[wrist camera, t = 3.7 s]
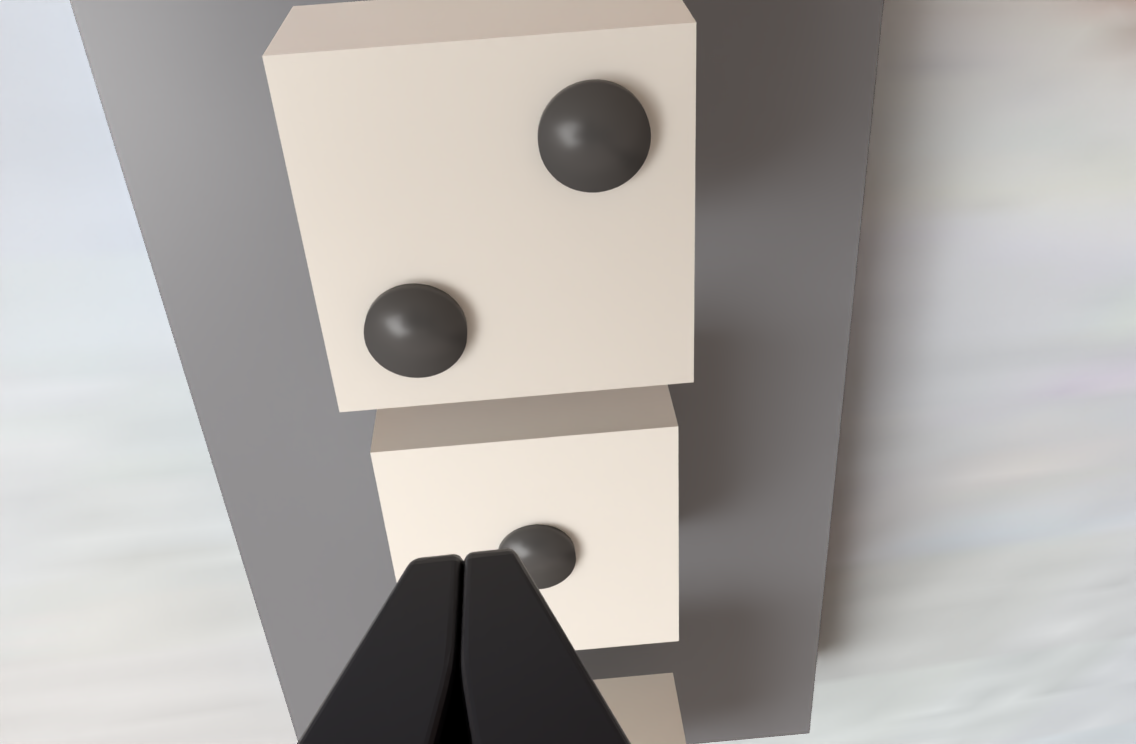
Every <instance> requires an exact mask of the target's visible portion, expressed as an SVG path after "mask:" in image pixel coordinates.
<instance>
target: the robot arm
mask: <svg viewBox="0 0 1136 744" xmlns="http://www.w3.org/2000/svg"><path fill="white" fill-rule="evenodd" d="M297 744H631V743H630V741H629V739H628V738H627V736H626V734H625V733H624V731H623V729H622V728H621V726H620V724H619V723H618V721H617V719H616V718H615V716H614V714H613V713H612V711H611V709H610V708H609V706H608V704H607V703H606V701H605V699H604V698H603V696H602V694H601V693H600V691H599V689H598V688H597V686H596V684H595V683H594V681H593V679H592V678H591V676H590V674H589V673H588V671H587V669H586V667H585V666H584V664H583V662H582V661H581V659H580V657H579V656H578V654H577V652H576V651H575V649H574V647H573V646H572V644H571V642H570V641H569V639H568V637H567V636H566V634H565V632H564V631H563V629H562V627H561V626H560V624H559V622H558V621H557V619H556V617H555V616H554V614H553V612H552V611H551V609H550V607H549V606H548V604H547V602H546V601H545V599H544V597H543V595H542V594H541V592H540V590H539V589H538V587H537V585H536V584H535V582H534V580H533V579H532V577H531V575H530V574H529V572H528V570H527V569H526V567H525V565H524V564H523V562H522V560H521V559H520V557H519V555H518V554H517V553H516V552H515V551H514V550H512V549H509V548H505V549H496V550H486V551H477V552H471V553H469V554H468V555H466V557H465V559H464V560H463V559H462V558H461V557H460V556H459V555H457V554H449V555H440V556H431V557H421V558H416V559H414V560H413V561H411V562H410V563H409V564H408V566H407V567H406V569H405V571H404V572H403V574H402V575H401V577H400V579H399V580H398V582H397V583H396V585H395V587H394V588H393V590H392V591H391V593H390V595H389V596H388V598H387V600H386V601H385V603H384V604H383V606H382V608H381V609H380V611H379V612H378V614H377V616H376V617H375V619H374V620H373V622H372V624H371V625H370V627H369V628H368V630H367V632H366V633H365V635H364V636H363V638H362V640H361V641H360V643H359V645H358V646H357V648H356V649H355V651H354V653H353V654H352V656H351V657H350V659H349V661H348V662H347V664H346V665H345V667H344V669H343V670H342V672H341V673H340V675H339V677H338V678H337V680H336V681H335V683H334V685H333V686H332V688H331V690H330V691H329V693H328V694H327V696H326V698H325V699H324V701H323V702H322V704H321V706H320V707H319V709H318V710H317V712H316V714H315V715H314V717H313V718H312V720H311V722H310V723H309V725H308V727H307V728H306V730H305V731H304V733H303V735H302V736H301V738H300V739H299V741H298V743H297Z"/></svg>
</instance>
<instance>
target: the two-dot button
mask: <svg viewBox="0 0 1136 744" xmlns="http://www.w3.org/2000/svg"><path fill="white" fill-rule="evenodd" d="M262 58H263V62H264V67H265V72H266V76H267V81H268V85H269V90H270V95H271V99H272V104H273V108H274V113H275V118H276V122H277V127H278V131H279V136H280V141H281V145H282V150H283V154H284V159H285V164H286V168H287V173H288V177H289V182H290V187H291V191H292V196H293V200H294V205H295V210H296V214H297V219H298V223H299V228H300V233H301V237H302V242H303V246H304V251H305V256H306V260H307V265H308V269H309V274H310V279H311V283H312V288H313V292H314V297H315V302H316V306H317V311H318V315H319V320H320V325H321V329H322V334H323V338H324V343H325V348H326V352H327V357H328V361H329V366H330V371H331V375H332V380H333V384H334V389H335V394H336V398H337V403H338V407H339V412H350V411H361V410H373V409H385V408H397V407H409V406H420V405H432V404H444V403H456V402H467V401H479V400H491V399H503V398H515V397H526V396H538V395H550V394H562V393H573V392H585V391H597V390H609V389H621V388H632V387H644V386H656V385H668V384H679V383H691V382H694V274H695V139H696V21H695V19H694V18H693V16H692V15H691V13H690V11H689V10H688V8H687V7H686V5H685V4H684V2H683V0H368V1H355V2H342V3H328V4H315V5H302V6H293V7H292V9H291V10H290V12H289V13H288V15H287V17H286V18H285V20H284V22H283V23H282V25H281V26H280V28H279V30H278V31H277V33H276V34H275V36H274V38H273V39H272V41H271V43H270V44H269V46H268V47H267V49H266V51H265V52H264V54H263V55H262Z"/></svg>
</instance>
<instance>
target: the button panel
mask: <svg viewBox="0 0 1136 744" xmlns="http://www.w3.org/2000/svg"><path fill="white" fill-rule="evenodd" d="M355 1H368V0H70V3H71V6H72V9H73V13H74V16H75V19H76V22H77V26H78V29H79V32H80V35H81V39H82V42H83V45H84V48H85V52H86V55H87V58H88V61H89V65H90V68H91V71H92V74H93V77H94V81H95V84H96V87H97V90H98V94H99V97H100V100H101V103H102V107H103V110H104V113H105V116H106V120H107V123H108V126H109V129H110V133H111V136H112V139H113V142H114V146H115V149H116V152H117V155H118V159H119V162H120V165H121V168H122V172H123V175H124V178H125V181H126V185H127V188H128V191H129V194H130V198H131V201H132V204H133V207H134V211H135V214H136V217H137V220H138V224H139V227H140V230H141V233H142V237H143V240H144V243H145V246H146V249H147V253H148V256H149V259H150V262H151V266H152V269H153V272H154V275H155V279H156V282H157V285H158V288H159V292H160V295H161V298H162V301H163V305H164V308H165V311H166V314H167V318H168V321H169V324H170V327H171V331H172V334H173V337H174V340H175V344H176V347H177V350H178V353H179V357H180V360H181V363H182V366H183V370H184V373H185V376H186V379H187V383H188V386H189V389H190V392H191V396H192V399H193V402H194V405H195V409H196V412H197V415H198V418H199V421H200V425H201V428H202V431H203V434H204V438H205V441H206V444H207V447H208V451H209V454H210V457H211V460H212V464H213V467H214V470H215V473H216V477H217V480H218V483H219V486H220V490H221V493H222V496H223V499H224V503H225V506H226V509H227V512H228V516H229V519H230V522H231V525H232V529H233V532H234V535H235V538H236V542H237V545H238V548H239V551H240V555H241V558H242V561H243V564H244V568H245V571H246V574H247V577H248V581H249V584H250V587H251V590H252V593H253V597H254V600H255V603H256V606H257V610H258V613H259V616H260V619H261V623H262V626H263V629H264V632H265V636H266V639H267V642H268V645H269V649H270V652H271V655H272V658H273V662H274V665H275V668H276V671H277V675H278V678H279V681H280V684H281V688H282V691H283V694H284V697H285V701H286V704H287V707H288V710H289V714H290V717H291V720H292V723H293V727H294V730H295V733H296V736H297V740H298V741H299V739H300V738H301V736H302V735H303V733H304V731H305V730H306V728H307V727H308V725H309V723H310V722H311V720H312V718H313V717H314V715H315V714H316V712H317V710H318V709H319V707H320V706H321V704H322V702H323V701H324V699H325V698H326V696H327V694H328V693H329V691H330V690H331V688H332V686H333V685H334V683H335V681H336V680H337V678H338V677H339V675H340V673H341V672H342V670H343V669H344V667H345V665H346V664H347V662H348V661H349V659H350V657H351V656H352V654H353V653H354V651H355V649H356V648H357V646H358V645H359V643H360V641H361V640H362V638H363V636H364V635H365V633H366V632H367V630H368V628H369V627H370V625H371V624H372V622H373V620H374V619H375V617H376V616H377V614H378V612H379V611H380V609H381V608H382V606H383V604H384V603H385V601H386V600H387V598H388V596H389V595H390V593H391V591H392V590H393V588H394V587H395V585H396V583H397V582H396V577H395V573H394V568H393V563H392V558H391V553H390V548H389V543H388V538H387V533H386V528H385V523H384V518H383V513H382V509H381V504H380V499H379V494H378V489H377V484H376V479H375V474H374V469H373V464H372V459H371V454H370V451H371V444H372V438H373V431H374V425H375V418H376V412H377V409H373V410H361V411H350V412H339V407H338V403H337V398H336V394H335V389H334V384H333V380H332V375H331V371H330V366H329V361H328V357H327V352H326V348H325V343H324V338H323V334H322V329H321V325H320V320H319V315H318V311H317V306H316V302H315V297H314V292H313V288H312V283H311V279H310V274H309V269H308V265H307V260H306V256H305V251H304V246H303V242H302V237H301V233H300V228H299V223H298V219H297V214H296V210H295V205H294V200H293V196H292V191H291V187H290V182H289V177H288V173H287V168H286V164H285V159H284V154H283V150H282V145H281V141H280V136H279V131H278V127H277V122H276V118H275V113H274V108H273V104H272V99H271V95H270V90H269V85H268V81H267V76H266V72H265V67H264V62H263V58H262V55H263V54H264V52H265V51H266V49H267V47H268V46H269V44H270V43H271V41H272V39H273V38H274V36H275V34H276V33H277V31H278V30H279V28H280V26H281V25H282V23H283V22H284V20H285V18H286V17H287V15H288V13H289V12H290V10H291V9H292V7H293V6H302V5H315V4H328V3H342V2H355ZM683 2H684V4H685V5H686V7H687V8H688V10H689V11H690V13H691V15H692V16H693V18H694V19H695V21H696V139H695V274H694V382H691V383H679V384H668V388H669V392H670V396H671V400H672V404H673V407H674V411H675V415H676V419H677V423H678V480H679V641H673V642H662V643H651V644H640V645H629V646H618V647H607V648H596V649H585V650H575V651H576V652H577V654H578V656H579V657H580V659H581V661H582V662H583V664H584V666H585V667H586V669H587V671H588V673H589V674H590V676H591V678H592V679H593V680H596V679H607V678H618V677H629V676H640V675H651V674H662V673H673V676H674V681H675V687H676V692H677V697H678V703H679V708H680V713H681V718H682V724H683V729H684V734H685V740H686V744H698V743H709V742H720V741H730V740H741V739H752V738H763V737H774V736H785V735H795V734H806V733H809V730H810V721H811V711H812V701H813V691H814V681H815V671H816V662H817V652H818V642H819V632H820V622H821V612H822V603H823V593H824V583H825V573H826V563H827V553H828V544H829V534H830V524H831V514H832V504H833V494H834V485H835V475H836V465H837V455H838V445H839V435H840V426H841V416H842V406H843V396H844V386H845V376H846V366H847V357H848V347H849V337H850V327H851V317H852V307H853V298H854V288H855V278H856V268H857V258H858V248H859V239H860V229H861V219H862V209H863V199H864V189H865V180H866V170H867V160H868V150H869V140H870V130H871V121H872V111H873V101H874V91H875V81H876V71H877V62H878V52H879V42H880V32H881V22H882V12H883V3H884V0H683Z"/></svg>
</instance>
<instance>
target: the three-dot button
mask: <svg viewBox="0 0 1136 744" xmlns="http://www.w3.org/2000/svg"><path fill="white" fill-rule="evenodd" d="M593 681H594V683H595V684H596V686H597V688H598V689H599V691H600V693H601V694H602V696H603V698H604V699H605V701H606V703H607V704H608V706H609V708H610V709H611V711H612V713H613V714H614V716H615V718H616V719H617V721H618V723H619V724H620V726H621V728H622V729H623V731H624V733H625V734H626V736H627V738H628V739H629V741H630V743H631V744H686V740H685V734H684V729H683V724H682V718H681V713H680V708H679V703H678V697H677V692H676V687H675V681H674V676H673V673H662V674H651V675H640V676H629V677H618V678H607V679H596V680H593Z"/></svg>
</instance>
